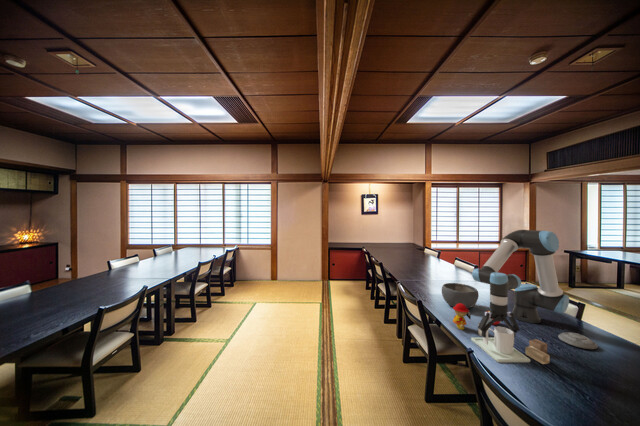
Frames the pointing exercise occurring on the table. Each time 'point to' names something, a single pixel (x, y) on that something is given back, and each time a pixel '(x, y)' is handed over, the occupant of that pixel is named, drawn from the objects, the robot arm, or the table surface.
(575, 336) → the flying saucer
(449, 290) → the bowl
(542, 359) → the maple block
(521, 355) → the tray
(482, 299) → the table surface
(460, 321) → the toy
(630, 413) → the table surface
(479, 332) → the round-ended white cylinder
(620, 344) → the table surface
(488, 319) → the apple
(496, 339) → the mug
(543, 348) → the walnut cube
